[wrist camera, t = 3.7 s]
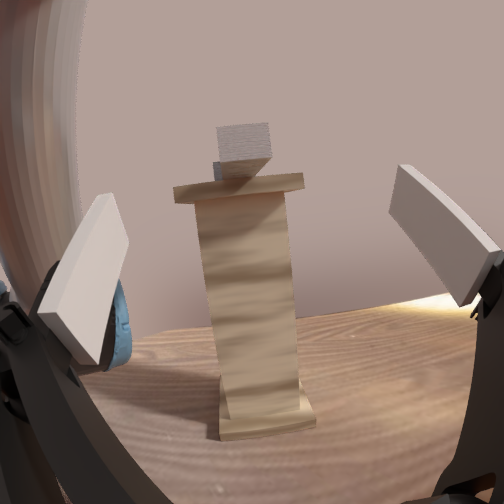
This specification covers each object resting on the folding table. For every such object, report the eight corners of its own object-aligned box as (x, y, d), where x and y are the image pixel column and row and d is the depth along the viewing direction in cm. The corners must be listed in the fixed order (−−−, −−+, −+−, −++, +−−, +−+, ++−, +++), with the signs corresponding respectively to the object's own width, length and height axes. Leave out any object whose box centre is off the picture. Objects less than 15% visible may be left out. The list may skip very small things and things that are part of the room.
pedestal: (316, 427, 31) (302, 172, 26) (221, 441, 30) (172, 187, 25) (293, 372, 45) (277, 183, 40) (221, 382, 44) (191, 193, 39)
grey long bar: (290, 155, 15) (283, 105, 15) (201, 164, 15) (196, 112, 14) (252, 185, 39) (250, 163, 38) (217, 189, 38) (214, 167, 38)
